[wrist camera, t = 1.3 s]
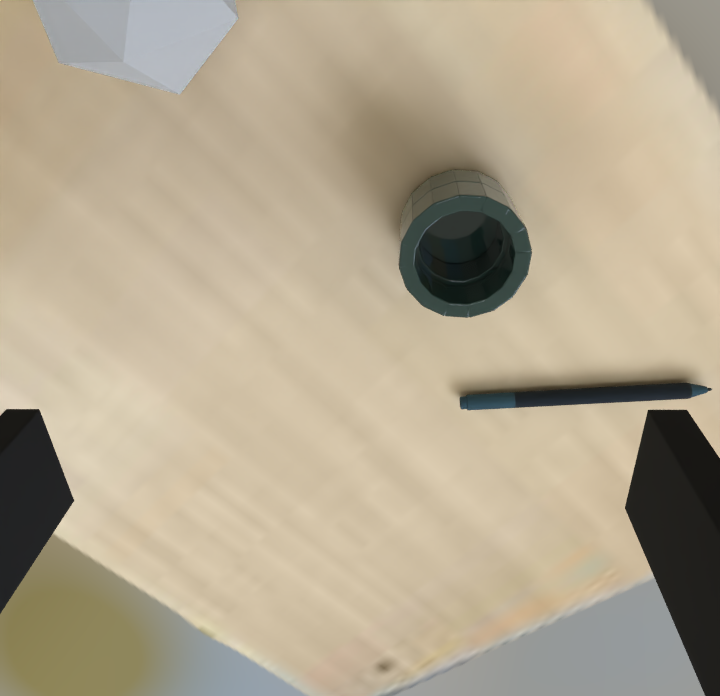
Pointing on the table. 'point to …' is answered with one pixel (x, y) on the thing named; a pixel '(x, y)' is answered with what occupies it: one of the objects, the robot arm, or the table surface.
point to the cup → (462, 244)
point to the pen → (582, 396)
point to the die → (137, 37)
